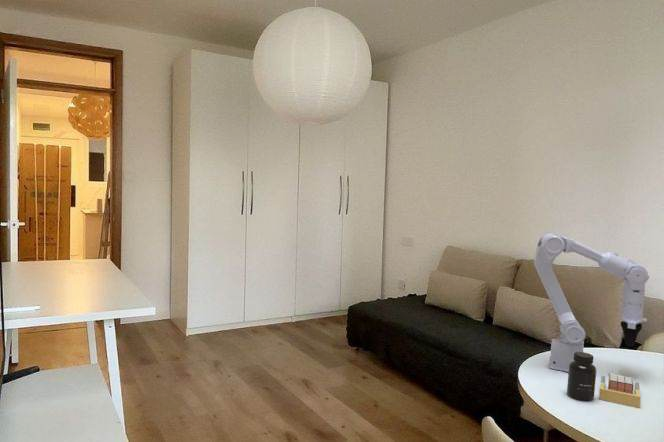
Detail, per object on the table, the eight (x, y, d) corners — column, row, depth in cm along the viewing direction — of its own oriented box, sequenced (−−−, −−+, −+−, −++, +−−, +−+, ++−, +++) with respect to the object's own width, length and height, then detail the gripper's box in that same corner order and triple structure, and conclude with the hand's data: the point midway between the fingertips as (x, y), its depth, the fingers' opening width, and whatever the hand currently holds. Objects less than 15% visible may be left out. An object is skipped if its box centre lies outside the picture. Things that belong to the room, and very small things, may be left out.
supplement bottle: (583, 403, 133) (586, 360, 132) (561, 393, 139) (564, 352, 138) (599, 399, 136) (602, 356, 136) (577, 389, 142) (580, 348, 142)
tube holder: (599, 399, 136) (599, 388, 136) (601, 383, 147) (601, 373, 147) (639, 408, 131) (640, 397, 131) (638, 391, 142) (639, 381, 142)
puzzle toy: (630, 397, 138) (632, 377, 138) (632, 405, 133) (633, 384, 133) (607, 392, 141) (609, 373, 141) (607, 400, 136) (609, 380, 136)
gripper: (649, 309, 144) (645, 355, 145) (647, 300, 156) (644, 342, 158) (621, 306, 148) (617, 350, 149) (621, 297, 160) (618, 338, 161)
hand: (629, 346), depth 153 cm, fingers closed
